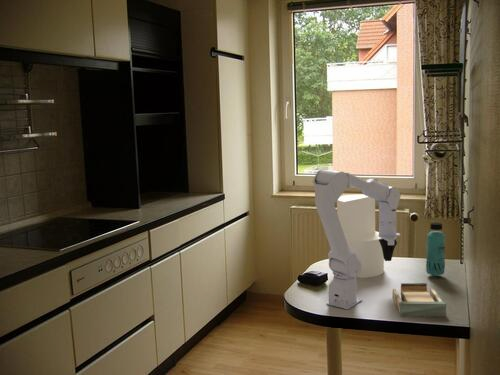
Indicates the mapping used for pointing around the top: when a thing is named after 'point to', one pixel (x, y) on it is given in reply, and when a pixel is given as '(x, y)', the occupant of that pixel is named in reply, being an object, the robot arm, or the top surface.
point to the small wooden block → (415, 292)
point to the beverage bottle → (435, 250)
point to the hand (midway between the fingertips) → (387, 260)
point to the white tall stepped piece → (361, 232)
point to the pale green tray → (420, 306)
